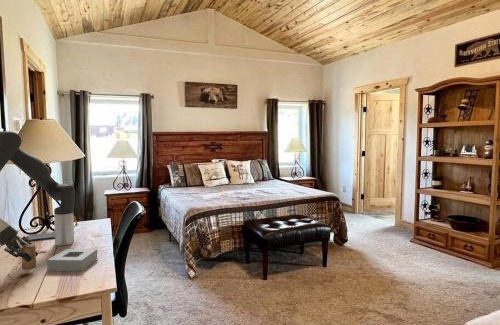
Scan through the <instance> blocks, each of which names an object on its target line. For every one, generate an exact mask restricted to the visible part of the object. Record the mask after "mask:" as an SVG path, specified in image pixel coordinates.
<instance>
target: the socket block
mask: <svg viewBox="0 0 500 325" xmlns="http://www.w3.org/2000/svg"><path fill="white" fill-rule="evenodd" d="M96 259H97V260H98V248H97V249H96V248H65V249H63V250H62V251H61V252H59V253H57V254H54V255H53V256H52V257H50V258H47V260H46V262H47V266H46V267H47V272H83V271H84V270H85V269H86V268H88V267H90V266H91V265H92V264H93V263H95V262H96V261H97V260H96ZM95 260H96V261H95ZM92 262H93V263H92ZM91 263H92V264H91ZM90 264H91V265H90Z"/></svg>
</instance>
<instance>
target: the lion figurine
mask: <svg viewBox="0 0 500 325" xmlns="http://www.w3.org/2000/svg"><path fill="white" fill-rule="evenodd" d="M73 223H75V225H74V226H77V225H78V224H79V222H78V221H77V217H76V216H75V215H73Z"/></svg>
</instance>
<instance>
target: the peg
mask: <svg viewBox="0 0 500 325" xmlns="http://www.w3.org/2000/svg"><path fill="white" fill-rule="evenodd" d="M22 247H23V250H24V251H25V253H27V254H28V255H30V256H31V257H32V260H31V261H30V262H27V261H26V260H24V259H23V258H22V257H21V269H22V270H23V271H29V270H33V269H35V268H36V267H37V256H36V252H37V251H36V244H33V243H32V244H28V245H24V246H22Z"/></svg>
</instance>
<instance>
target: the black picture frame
mask: <svg viewBox="0 0 500 325" xmlns="http://www.w3.org/2000/svg"><path fill="white" fill-rule="evenodd" d="M25 237H26V238H27V239H28V240H29V241H30V242H31V243H33V242H42V241H51V240H55V231H54V232H44V233H37V234H36V233H35V234H29V235H27V236H25Z"/></svg>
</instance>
